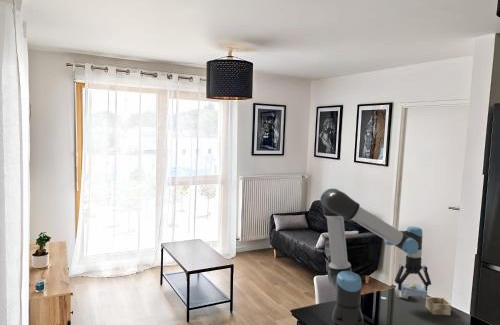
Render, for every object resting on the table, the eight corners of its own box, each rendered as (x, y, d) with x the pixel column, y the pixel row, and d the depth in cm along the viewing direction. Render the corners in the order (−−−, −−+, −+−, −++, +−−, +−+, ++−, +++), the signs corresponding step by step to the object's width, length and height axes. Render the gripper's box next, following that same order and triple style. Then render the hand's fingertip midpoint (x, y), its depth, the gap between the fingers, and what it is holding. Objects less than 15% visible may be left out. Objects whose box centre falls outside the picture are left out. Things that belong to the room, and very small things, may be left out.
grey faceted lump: (390, 295, 215) (391, 286, 210) (400, 286, 219) (401, 276, 213) (403, 305, 209) (404, 295, 203) (413, 296, 212) (414, 286, 207)
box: (432, 315, 190) (433, 303, 189) (425, 307, 199) (426, 296, 198) (450, 316, 189) (451, 304, 189) (442, 308, 198) (443, 297, 198)
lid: (405, 296, 189) (405, 289, 189) (398, 288, 200) (398, 281, 200) (427, 297, 188) (427, 290, 188) (418, 289, 199) (419, 282, 199)
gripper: (393, 257, 190) (392, 298, 191) (439, 259, 189) (437, 300, 189) (389, 253, 198) (387, 292, 199) (433, 254, 196) (431, 294, 197)
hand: (412, 296), depth 194 cm, fingers closed on lid, 11 cm apart
